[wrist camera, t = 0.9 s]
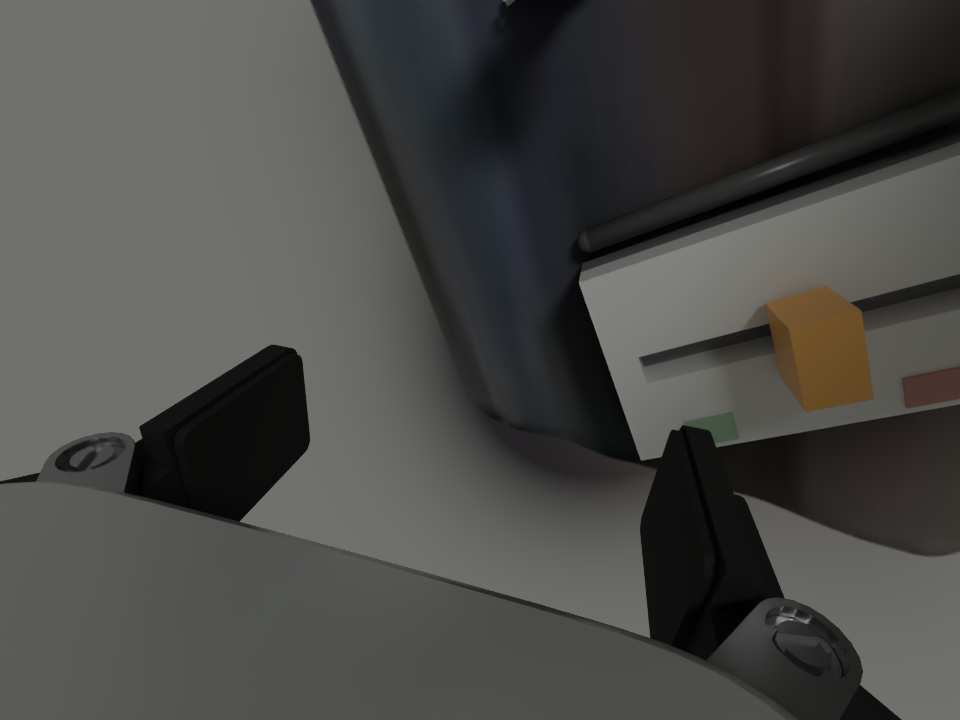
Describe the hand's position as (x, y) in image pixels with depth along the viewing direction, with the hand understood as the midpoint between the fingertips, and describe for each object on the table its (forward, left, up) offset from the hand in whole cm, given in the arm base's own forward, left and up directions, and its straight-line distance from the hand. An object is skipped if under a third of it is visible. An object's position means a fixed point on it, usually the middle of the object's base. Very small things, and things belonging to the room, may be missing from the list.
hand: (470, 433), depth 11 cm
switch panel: (-12, +8, -25) cm, 28 cm away
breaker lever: (-12, +9, -22) cm, 26 cm away
